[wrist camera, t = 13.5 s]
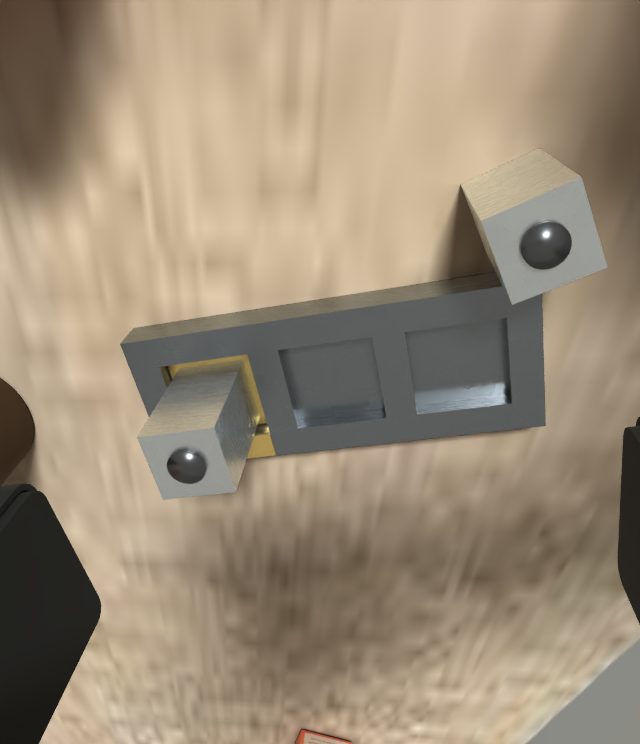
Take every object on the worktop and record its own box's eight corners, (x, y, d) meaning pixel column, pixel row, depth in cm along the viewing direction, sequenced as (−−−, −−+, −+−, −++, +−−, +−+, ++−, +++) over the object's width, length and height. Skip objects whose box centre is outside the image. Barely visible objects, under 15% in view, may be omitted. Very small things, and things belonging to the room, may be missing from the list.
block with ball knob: (538, 148, 33) (583, 178, 26) (562, 221, 35) (609, 269, 27) (460, 184, 34) (481, 222, 27) (486, 253, 36) (513, 307, 29)
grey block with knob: (243, 358, 39) (212, 431, 32) (260, 415, 41) (234, 495, 34) (179, 368, 40) (135, 440, 33) (199, 423, 42) (161, 503, 35)
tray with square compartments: (532, 266, 36) (541, 281, 34) (537, 405, 41) (545, 426, 38) (133, 328, 40) (119, 344, 38) (178, 447, 45) (168, 468, 43)
